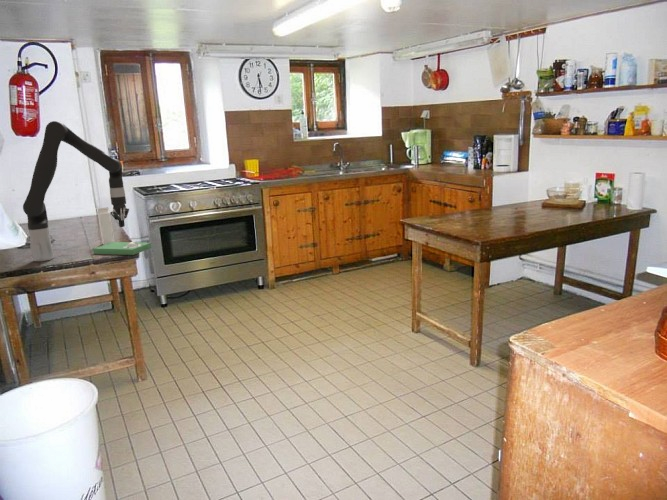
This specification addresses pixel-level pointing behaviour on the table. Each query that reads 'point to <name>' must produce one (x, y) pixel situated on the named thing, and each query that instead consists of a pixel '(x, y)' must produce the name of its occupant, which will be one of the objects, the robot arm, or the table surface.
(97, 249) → the green
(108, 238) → the milk
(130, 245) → the ball
